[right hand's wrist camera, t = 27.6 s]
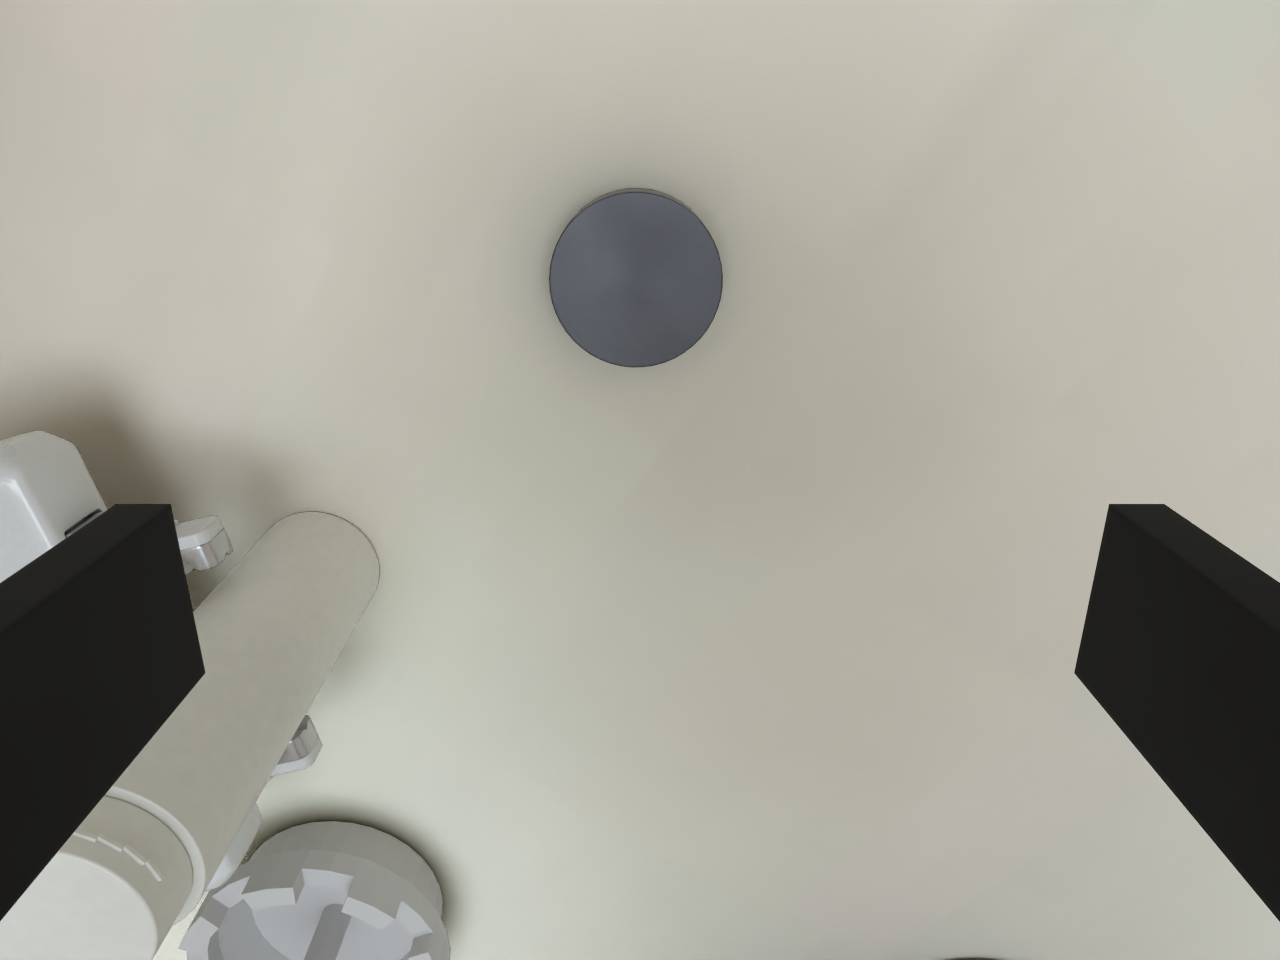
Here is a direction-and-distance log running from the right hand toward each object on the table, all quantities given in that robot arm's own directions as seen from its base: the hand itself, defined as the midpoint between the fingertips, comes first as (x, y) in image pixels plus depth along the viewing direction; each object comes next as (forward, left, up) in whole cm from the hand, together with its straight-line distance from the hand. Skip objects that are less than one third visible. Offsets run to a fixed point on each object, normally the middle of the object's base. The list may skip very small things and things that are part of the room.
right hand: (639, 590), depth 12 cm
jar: (-15, +13, -25) cm, 32 cm away
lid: (+1, 0, -23) cm, 23 cm away
